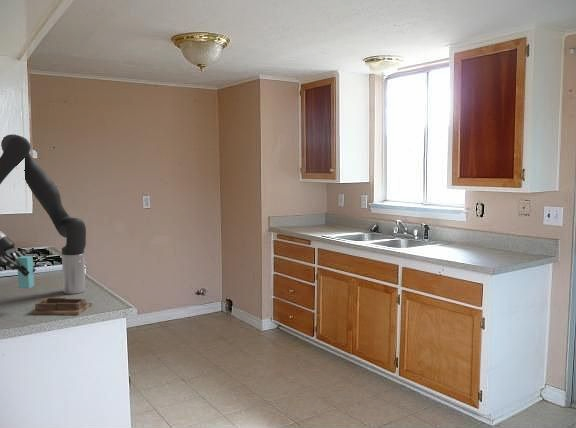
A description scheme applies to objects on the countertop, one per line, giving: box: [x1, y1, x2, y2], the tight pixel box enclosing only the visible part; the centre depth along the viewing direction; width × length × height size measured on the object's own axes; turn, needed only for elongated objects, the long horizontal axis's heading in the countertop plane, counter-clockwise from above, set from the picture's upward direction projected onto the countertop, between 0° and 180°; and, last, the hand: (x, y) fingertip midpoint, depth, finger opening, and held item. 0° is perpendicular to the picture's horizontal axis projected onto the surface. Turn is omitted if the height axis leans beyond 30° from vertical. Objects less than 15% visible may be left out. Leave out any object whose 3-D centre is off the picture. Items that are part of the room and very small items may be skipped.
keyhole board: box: [30, 297, 93, 316], centre depth 204 cm, size 13×18×4 cm
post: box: [17, 255, 35, 289], centre depth 203 cm, size 4×4×12 cm
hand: (30, 273), depth 203 cm, fingers closed on post, 4 cm apart
